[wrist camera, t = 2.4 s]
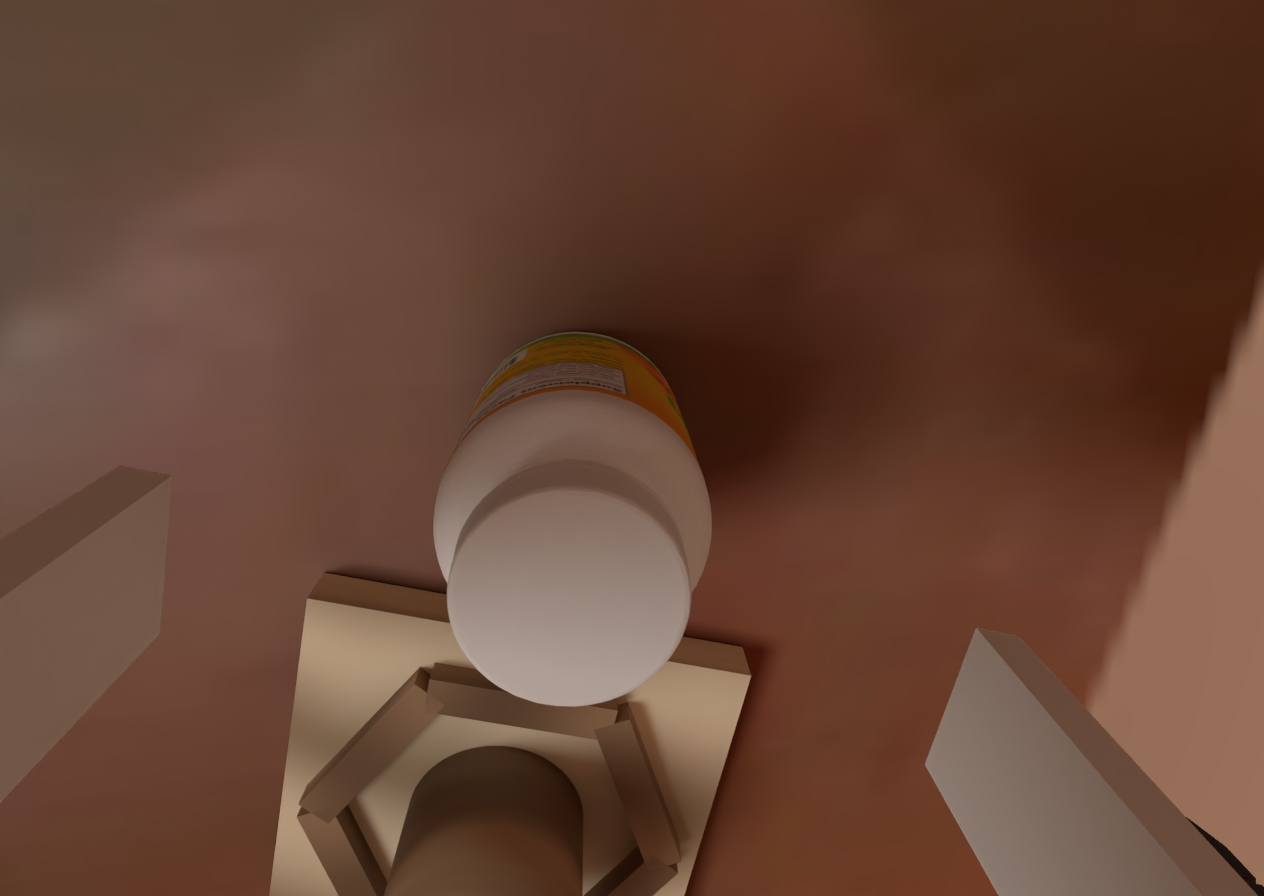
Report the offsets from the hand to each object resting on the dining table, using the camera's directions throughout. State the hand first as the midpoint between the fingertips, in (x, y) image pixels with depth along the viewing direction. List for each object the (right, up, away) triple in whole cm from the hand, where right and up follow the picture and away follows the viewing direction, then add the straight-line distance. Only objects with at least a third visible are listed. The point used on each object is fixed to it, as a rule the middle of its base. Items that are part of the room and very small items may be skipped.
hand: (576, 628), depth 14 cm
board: (-4, -12, +14) cm, 19 cm away
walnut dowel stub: (-3, -8, +11) cm, 14 cm away
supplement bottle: (-1, +4, +9) cm, 10 cm away
